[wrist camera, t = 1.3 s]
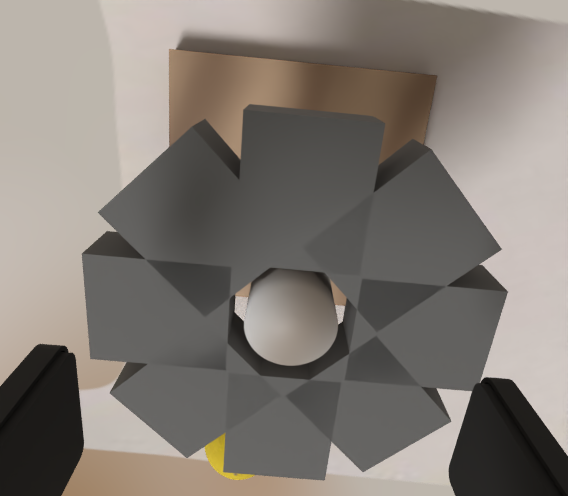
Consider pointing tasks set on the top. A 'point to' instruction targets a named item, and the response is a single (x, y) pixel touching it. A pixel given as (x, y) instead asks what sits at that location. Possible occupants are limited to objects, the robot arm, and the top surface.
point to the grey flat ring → (298, 256)
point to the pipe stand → (228, 124)
